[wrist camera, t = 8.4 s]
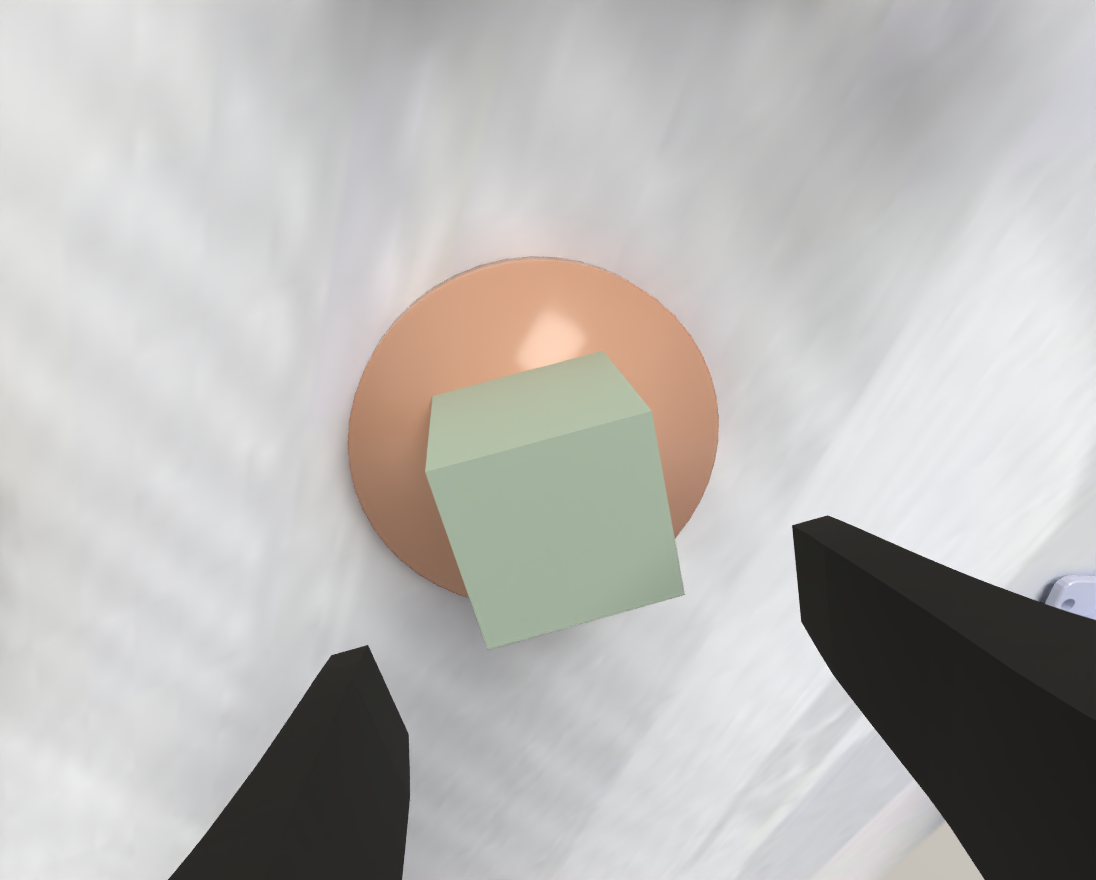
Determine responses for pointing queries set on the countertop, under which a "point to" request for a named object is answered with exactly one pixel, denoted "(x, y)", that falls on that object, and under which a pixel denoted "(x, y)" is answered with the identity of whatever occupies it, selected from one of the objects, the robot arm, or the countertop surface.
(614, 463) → the block
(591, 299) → the peach glossy disc
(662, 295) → the countertop surface
